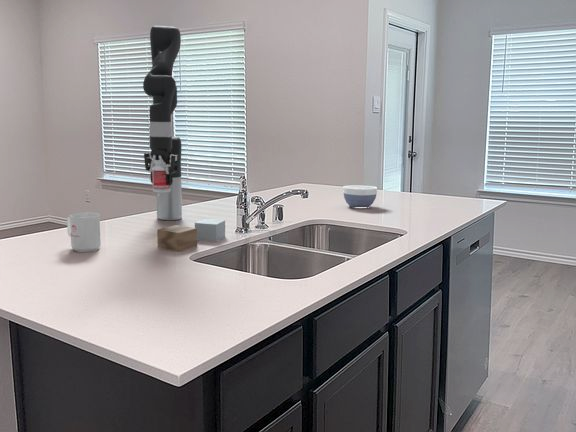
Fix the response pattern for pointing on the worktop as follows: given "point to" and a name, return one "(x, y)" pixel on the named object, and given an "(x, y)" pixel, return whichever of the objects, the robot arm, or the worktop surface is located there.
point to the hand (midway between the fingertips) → (161, 183)
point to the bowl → (359, 195)
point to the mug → (84, 231)
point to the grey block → (210, 230)
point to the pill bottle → (159, 178)
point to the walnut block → (177, 238)
